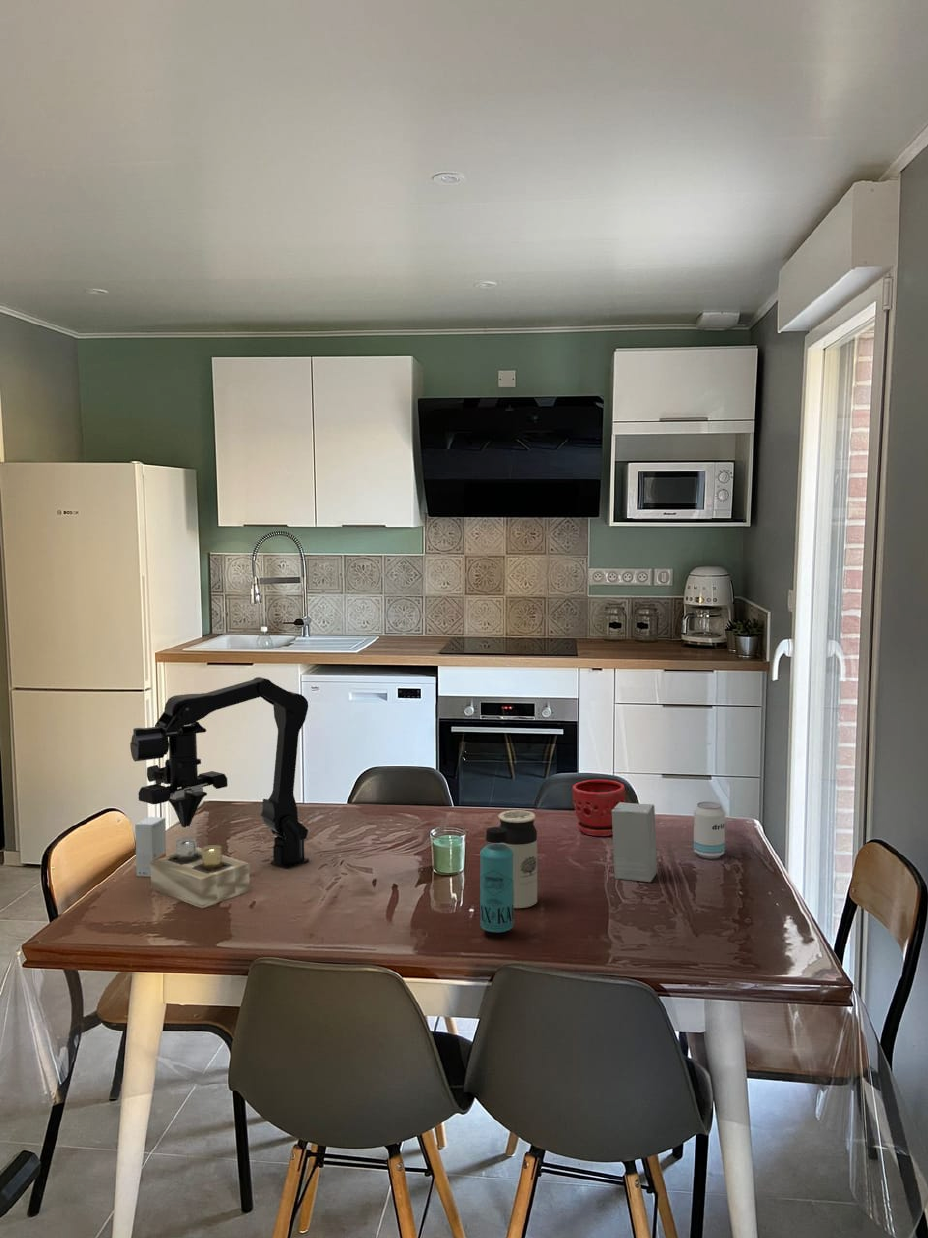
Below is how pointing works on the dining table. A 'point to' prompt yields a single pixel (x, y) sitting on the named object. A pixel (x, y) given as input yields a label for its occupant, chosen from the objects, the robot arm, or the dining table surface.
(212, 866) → the brass peg
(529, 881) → the travel mug
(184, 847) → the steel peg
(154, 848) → the skincare box
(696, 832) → the beverage can
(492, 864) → the beverage bottle
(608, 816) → the plant pot
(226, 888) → the collar block
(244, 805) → the dining table surface
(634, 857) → the skincare box
